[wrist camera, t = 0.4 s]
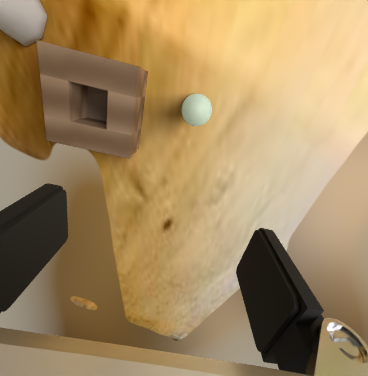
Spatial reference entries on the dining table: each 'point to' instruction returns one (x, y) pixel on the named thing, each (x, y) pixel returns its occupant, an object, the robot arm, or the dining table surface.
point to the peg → (196, 109)
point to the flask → (23, 20)
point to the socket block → (91, 100)
